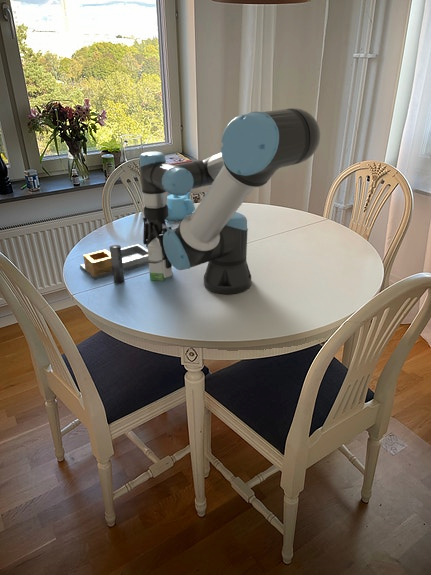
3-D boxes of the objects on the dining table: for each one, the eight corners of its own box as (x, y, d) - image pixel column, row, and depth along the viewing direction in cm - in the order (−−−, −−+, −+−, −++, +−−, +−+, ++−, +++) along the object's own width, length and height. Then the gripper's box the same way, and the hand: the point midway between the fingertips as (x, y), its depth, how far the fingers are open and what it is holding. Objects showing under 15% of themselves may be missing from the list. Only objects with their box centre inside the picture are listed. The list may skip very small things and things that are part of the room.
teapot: (161, 223, 192) (159, 199, 187) (157, 212, 205) (155, 189, 199) (196, 220, 194) (195, 196, 189) (190, 209, 207) (189, 187, 202)
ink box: (164, 281, 143) (161, 247, 138) (149, 280, 144) (146, 246, 138) (171, 269, 151) (169, 237, 145) (157, 268, 151) (154, 236, 146)
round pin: (126, 282, 143) (122, 247, 137) (116, 284, 141) (112, 250, 136) (121, 278, 145) (117, 244, 140) (112, 281, 144) (107, 246, 138)
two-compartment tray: (156, 261, 156) (155, 248, 154) (94, 279, 144) (92, 265, 142) (140, 251, 165) (138, 238, 163) (80, 267, 153) (78, 253, 151)
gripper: (185, 211, 130) (187, 279, 141) (149, 194, 146) (154, 257, 156) (162, 216, 126) (167, 286, 137) (128, 198, 142) (134, 262, 152)
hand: (160, 271), depth 147 cm, fingers closed on ink box, 9 cm apart
